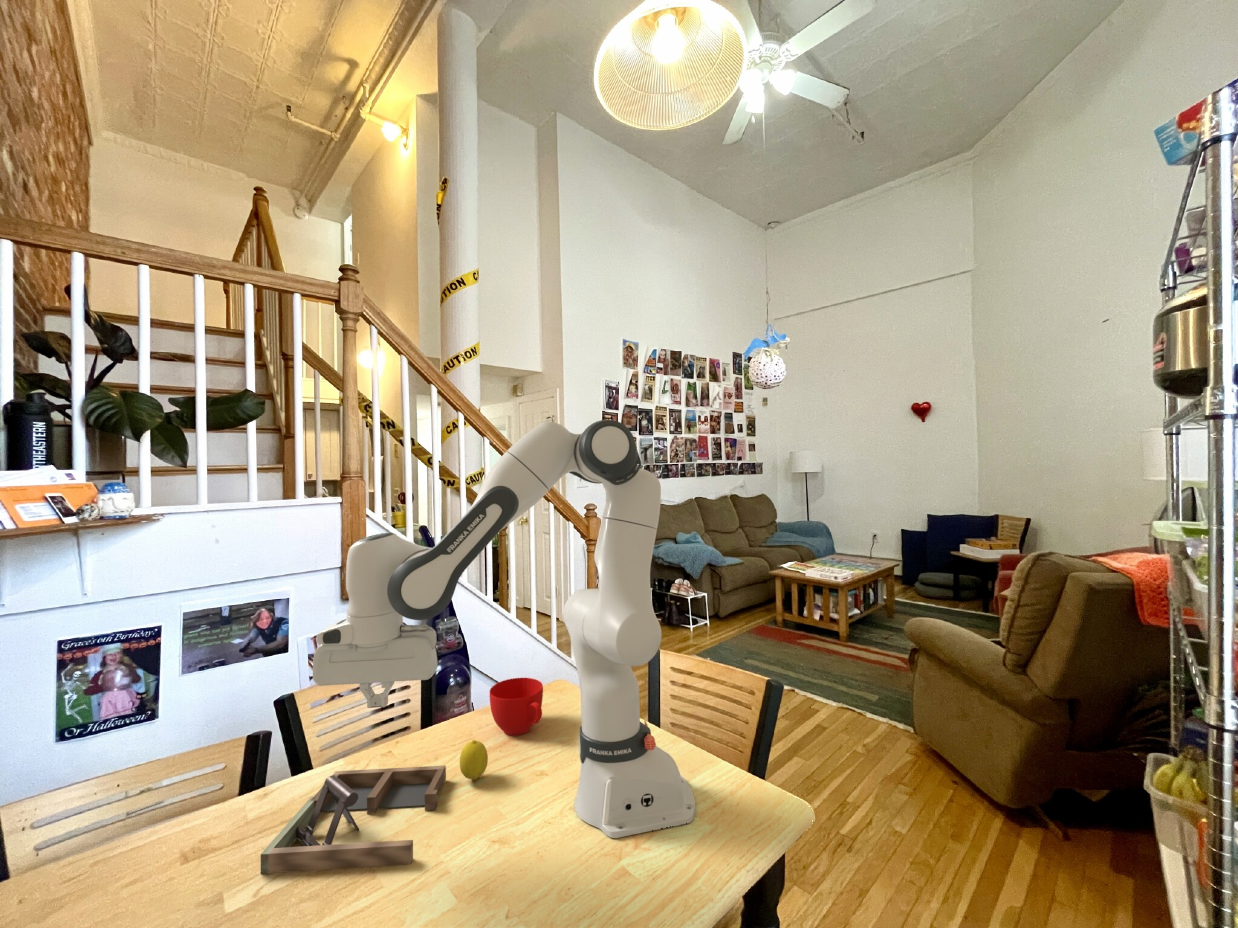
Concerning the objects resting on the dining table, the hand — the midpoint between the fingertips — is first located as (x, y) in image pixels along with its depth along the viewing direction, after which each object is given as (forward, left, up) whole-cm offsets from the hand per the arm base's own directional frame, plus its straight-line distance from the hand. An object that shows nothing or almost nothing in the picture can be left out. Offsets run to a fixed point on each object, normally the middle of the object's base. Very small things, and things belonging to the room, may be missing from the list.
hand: (377, 706), depth 88 cm
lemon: (-13, -15, -22) cm, 30 cm away
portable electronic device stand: (+8, 0, -23) cm, 24 cm away
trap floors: (+4, -11, -22) cm, 25 cm away
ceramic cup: (-20, -34, -22) cm, 45 cm away
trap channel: (+4, -4, -22) cm, 23 cm away
